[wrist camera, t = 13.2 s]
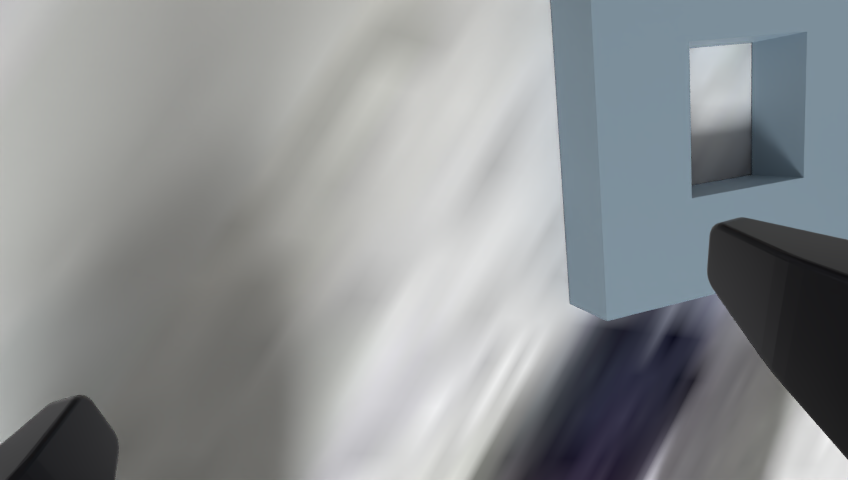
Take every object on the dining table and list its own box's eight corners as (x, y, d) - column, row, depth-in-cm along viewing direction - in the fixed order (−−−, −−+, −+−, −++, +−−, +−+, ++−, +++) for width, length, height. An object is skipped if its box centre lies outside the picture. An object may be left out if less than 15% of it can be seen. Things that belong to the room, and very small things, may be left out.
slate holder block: (569, 303, 23) (606, 321, 21) (546, -55, 21) (586, -81, 18) (815, 246, 27) (869, 255, 25) (823, -61, 25) (885, -82, 22)
